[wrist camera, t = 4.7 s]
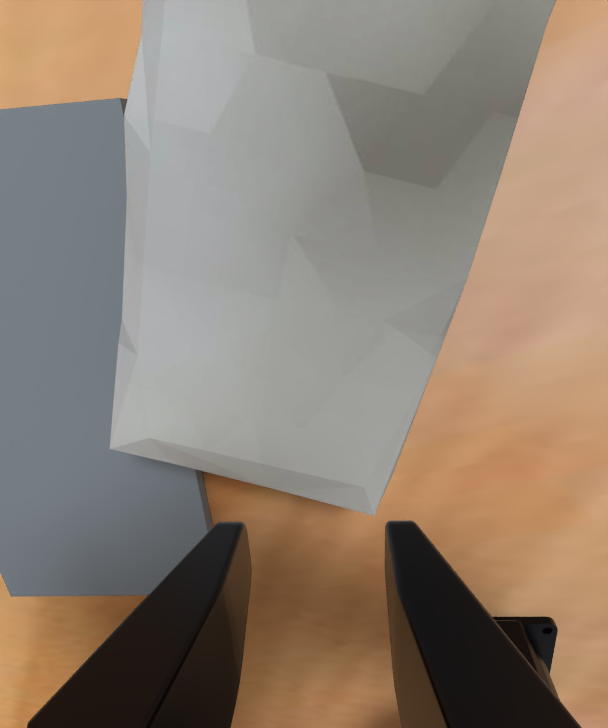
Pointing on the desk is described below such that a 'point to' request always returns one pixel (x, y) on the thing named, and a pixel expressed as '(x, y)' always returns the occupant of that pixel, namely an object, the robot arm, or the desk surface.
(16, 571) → the mat
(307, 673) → the desk surface
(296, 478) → the light grey block
